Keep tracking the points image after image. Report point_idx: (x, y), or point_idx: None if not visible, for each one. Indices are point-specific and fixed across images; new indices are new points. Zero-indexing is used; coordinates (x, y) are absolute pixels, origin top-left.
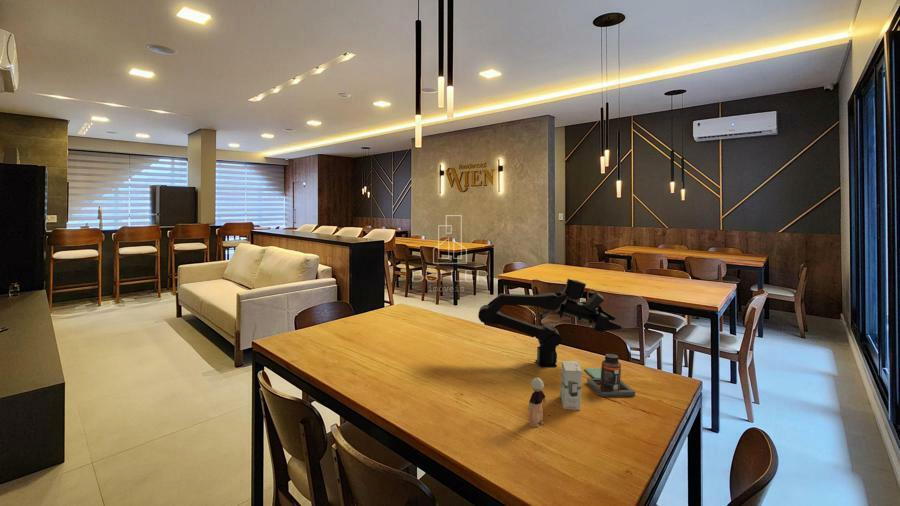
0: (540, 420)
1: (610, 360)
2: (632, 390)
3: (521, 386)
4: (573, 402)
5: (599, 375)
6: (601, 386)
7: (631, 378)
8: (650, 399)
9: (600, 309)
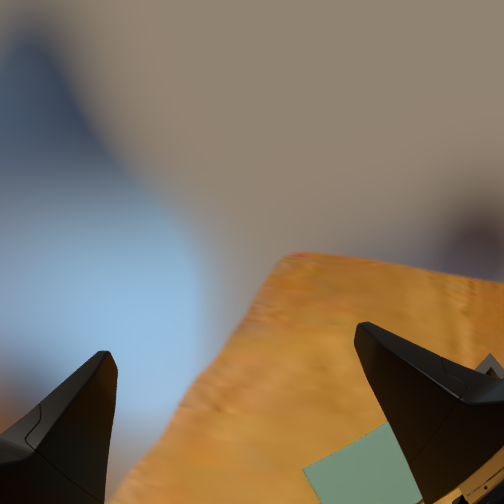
0: None
1: None
2: (488, 359)
3: None
4: None
5: (407, 482)
6: None
7: (359, 388)
8: (474, 329)
9: (16, 484)
